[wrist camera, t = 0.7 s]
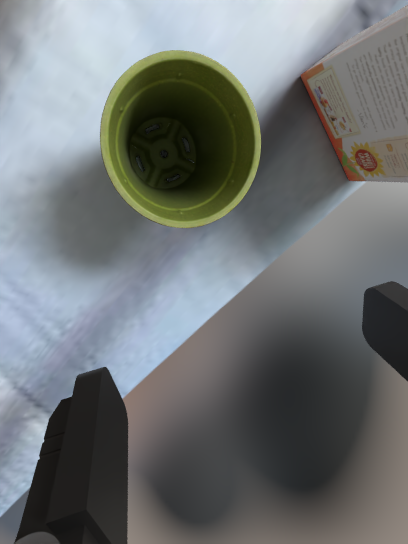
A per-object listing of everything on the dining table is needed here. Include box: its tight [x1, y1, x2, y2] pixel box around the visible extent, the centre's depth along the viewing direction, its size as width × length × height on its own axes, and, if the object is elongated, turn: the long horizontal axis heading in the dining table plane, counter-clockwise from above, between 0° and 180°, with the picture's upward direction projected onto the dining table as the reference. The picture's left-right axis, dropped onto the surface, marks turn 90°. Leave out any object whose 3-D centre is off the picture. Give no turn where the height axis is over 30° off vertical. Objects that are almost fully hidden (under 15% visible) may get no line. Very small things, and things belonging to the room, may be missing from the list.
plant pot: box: [100, 50, 261, 228], centre depth 27 cm, size 12×12×11 cm
